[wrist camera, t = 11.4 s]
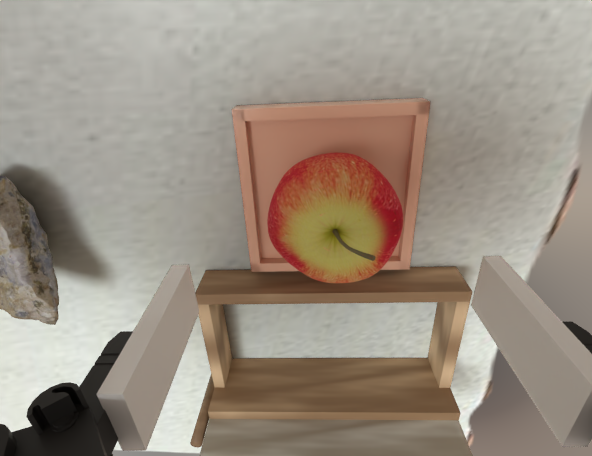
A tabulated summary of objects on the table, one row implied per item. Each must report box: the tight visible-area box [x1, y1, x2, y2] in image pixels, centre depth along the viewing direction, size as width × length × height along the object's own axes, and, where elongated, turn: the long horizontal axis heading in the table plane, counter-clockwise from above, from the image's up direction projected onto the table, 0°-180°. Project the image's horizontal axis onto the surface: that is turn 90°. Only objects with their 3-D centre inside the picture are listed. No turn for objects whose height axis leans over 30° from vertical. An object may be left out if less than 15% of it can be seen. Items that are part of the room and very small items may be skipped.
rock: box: [0, 176, 59, 325], centre depth 28 cm, size 11×6×10 cm
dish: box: [232, 98, 430, 272], centre depth 27 cm, size 13×13×2 cm
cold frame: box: [191, 267, 472, 456], centre depth 28 cm, size 13×23×14 cm, turn 92°
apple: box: [267, 153, 403, 283], centre depth 22 cm, size 8×8×10 cm
